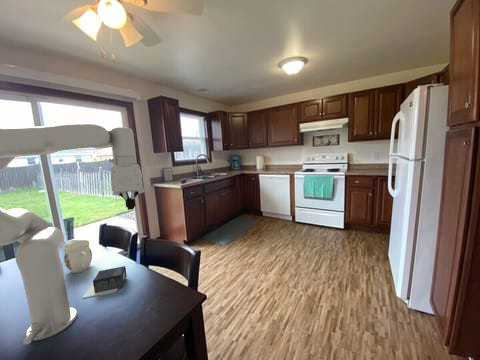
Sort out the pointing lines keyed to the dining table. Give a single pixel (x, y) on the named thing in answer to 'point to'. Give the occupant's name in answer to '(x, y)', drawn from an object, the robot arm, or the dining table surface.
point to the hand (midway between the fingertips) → (131, 208)
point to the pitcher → (77, 255)
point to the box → (109, 279)
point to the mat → (91, 292)
